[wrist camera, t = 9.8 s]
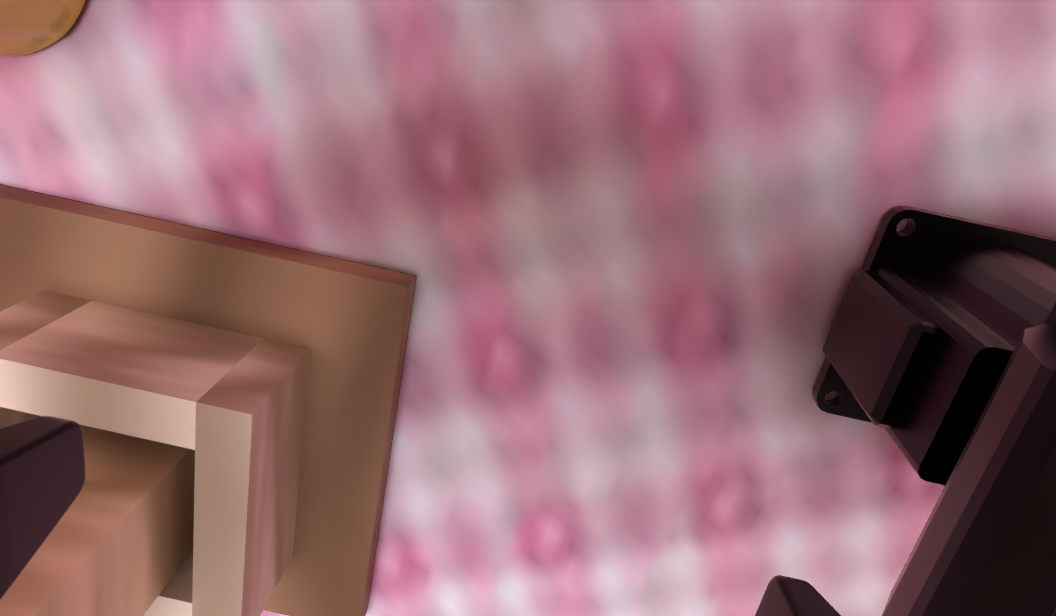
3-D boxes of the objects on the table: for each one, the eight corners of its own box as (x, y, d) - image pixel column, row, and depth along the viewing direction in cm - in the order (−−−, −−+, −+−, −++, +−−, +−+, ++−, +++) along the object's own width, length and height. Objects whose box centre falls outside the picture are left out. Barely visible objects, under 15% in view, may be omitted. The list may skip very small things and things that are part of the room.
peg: (239, 398, 23) (-6, 653, 13) (234, 496, 24) (11, 787, 15) (119, 371, 23) (-209, 607, 13) (121, 471, 24) (-172, 745, 15)
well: (416, 275, 22) (367, 343, 17) (367, 610, 27) (320, 731, 22) (-24, 179, 22) (-191, 220, 17) (14, 531, 27) (-106, 635, 22)
